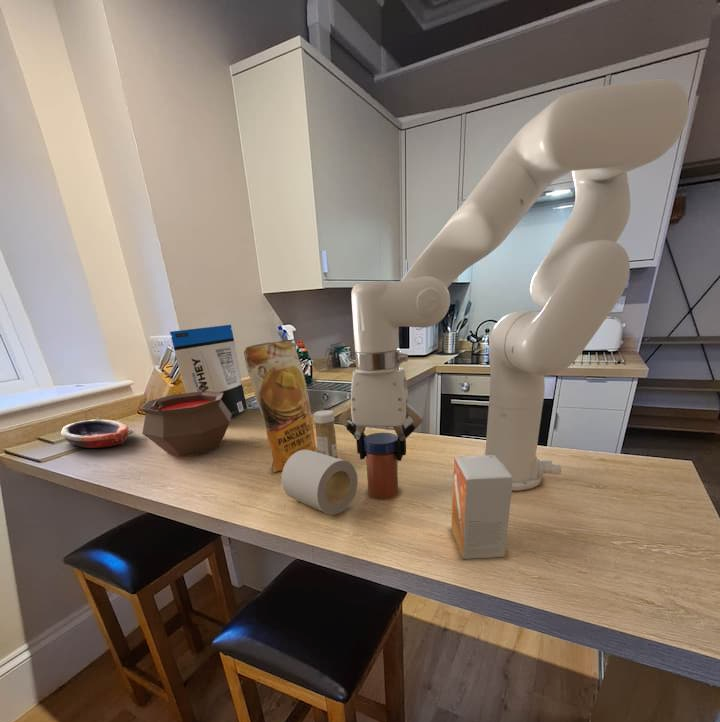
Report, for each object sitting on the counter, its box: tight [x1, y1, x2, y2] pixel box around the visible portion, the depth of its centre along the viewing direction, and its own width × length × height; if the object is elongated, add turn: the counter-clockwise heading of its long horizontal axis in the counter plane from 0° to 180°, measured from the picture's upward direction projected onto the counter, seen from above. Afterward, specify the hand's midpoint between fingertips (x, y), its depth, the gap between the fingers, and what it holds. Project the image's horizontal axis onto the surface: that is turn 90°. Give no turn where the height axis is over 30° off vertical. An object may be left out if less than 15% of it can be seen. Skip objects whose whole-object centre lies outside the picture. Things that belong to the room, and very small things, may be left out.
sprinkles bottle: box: [312, 409, 339, 459], centre depth 88 cm, size 5×5×14 cm
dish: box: [60, 417, 129, 449], centre depth 122 cm, size 16×31×5 cm, turn 52°
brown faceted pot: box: [138, 382, 232, 458], centre depth 108 cm, size 24×24×16 cm
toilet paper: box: [281, 450, 359, 516], centre depth 73 cm, size 10×10×10 cm
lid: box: [364, 432, 398, 454], centre depth 74 cm, size 6×7×2 cm
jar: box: [365, 451, 399, 500], centre depth 76 cm, size 6×6×11 cm
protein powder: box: [169, 324, 248, 419], centre depth 134 cm, size 10×24×30 cm, turn 149°
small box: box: [450, 454, 513, 560], centre depth 58 cm, size 8×6×13 cm
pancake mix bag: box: [243, 339, 317, 473], centre depth 91 cm, size 7×19×28 cm, turn 148°
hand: (381, 456), depth 75 cm, fingers closed on lid, 6 cm apart
